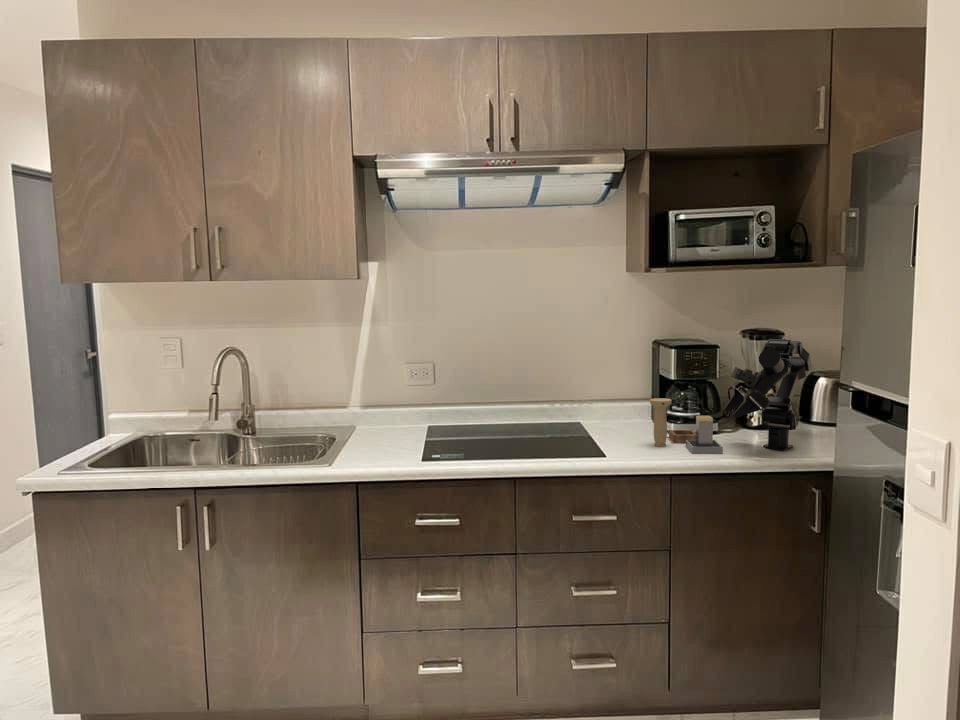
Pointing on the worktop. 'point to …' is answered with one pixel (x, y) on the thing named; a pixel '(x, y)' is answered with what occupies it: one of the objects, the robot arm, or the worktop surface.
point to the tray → (704, 448)
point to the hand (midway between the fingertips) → (729, 413)
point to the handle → (660, 420)
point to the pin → (704, 431)
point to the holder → (681, 436)
